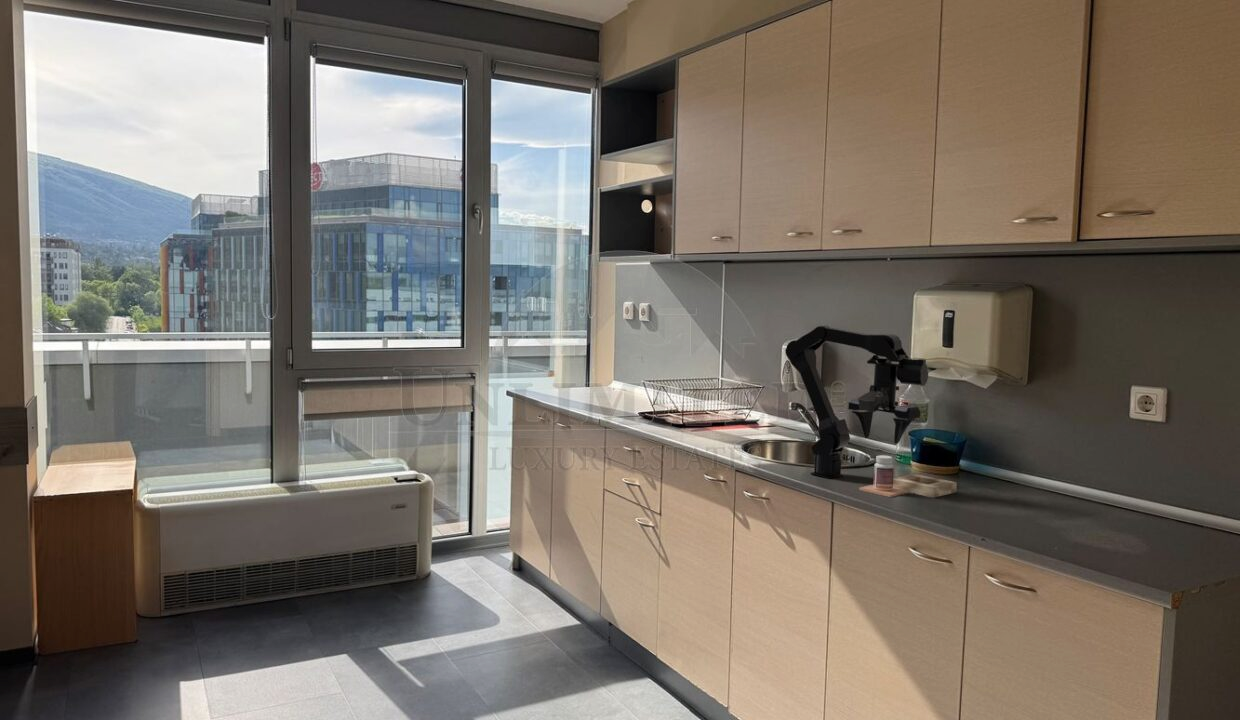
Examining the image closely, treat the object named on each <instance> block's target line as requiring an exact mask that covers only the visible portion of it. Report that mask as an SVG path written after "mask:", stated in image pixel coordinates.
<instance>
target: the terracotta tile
mask: <svg viewBox="0 0 1240 720" xmlns="http://www.w3.org/2000/svg"><path fill="white" fill-rule="evenodd" d="M859 491H861V492H865V493H871V494H875V495H879V496H883V497H888V498H893V497H897V496H901V494H902V495H905V493H906V494H908V493H909V492H908V491H907V490H903V489H898V488H894V487H893V489H892V490H890V491H881V490H876V489H874V484H869V485H865V486H860V487H859Z"/></svg>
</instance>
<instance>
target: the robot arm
mask: <svg viewBox="0 0 1240 720" xmlns="http://www.w3.org/2000/svg"><path fill="white" fill-rule="evenodd" d="M826 342H830V343H834V344H840V345H844V346H846V345H847V346H851V347H856V348H860V349H863V350H865V351H867V352H869V353H871V354H873V355H872V357H871V358H870V359H868V360H867V361H866V363H867V364H869V365H874V372H873V373H874V375H873V384H870V386H869V391H868V392H865V393H864V394H863V395H861V396H859V397H857V398H851V399H850V400H849V401H848V405H847V409H848V410H852V411H851V413H852V414H854V415H856V416H857V418H858V420H859V423H860V424H861V428H862V431H863V432H862V433H863V435H864V436H863V437H864V438H865V439H868V438H869V437H870V433H871V429H872V427H871V426H872V423H873V422H872V421H873V414H874V413H875V412H884V413H890V414H894V416H895V417H894V418H892V420H893V422H894V425H895V427H894V438H893V439H894V444H899V442H900V441H901V440H902V437H903V435H904V433H905V431H906V430H907V428H908V427H909V426H910V424H911V423H912V422H913V421H916V419H918V418H921V410H920V408H919V407H918V406H913V405H909V404H905V405H904V404H903V405H899V401H897V400H896V397H897V396H896V395H897V391H899V390H900V386H899V385H897V382H898V381H899V382H900V384H902V385H910V386H912V385H913V386H920V387H921V386H922V387H924V386H926V384H927V382H928V379H929V371H928V364H927V363H926V362H927V360H926V359H923V358H921V359H916V358H910V357H909V355H908V354H907V352H906V351H905V349H904V348H903V345H902V340H901V339H900V337H899V336H898V335H897V334H892V333H891V334H889V333H888V334H887V333H885V334H883V333H882V334H881V333H880V334H877V333H876V334H873V333H864V332H863V333H862V332H859V331H853V330H852V331H851V330H846V329H841V328H834V327H831V326H829V325H818V326H816V327H815V328H813V329H812V330H811V331H810V332H807V333H806V334H805V335H802V336H801V337H799V338H798V339H796V340H791V341H790V342H788V344H787V345H786V348H785V350H784V351H785V355H786V357H787V359H788V361H789V362H790V364H791V365H792V366H793V368H795V370H796V371H797V372H798V373H799V374H800V377H801V379H802V382H803V384H804V386H805V389H806V392H807V394H808V397H809V400H810V402H811V406H812V407H813V410H814V412H815V415H816V417H817V419H818V430H817V431H818V435H819V440H817V441H816V442H815V443H814V444H813V445H811V451H812V455H814V463H813V464H814V471H811V472H810V475H813V476H818V477H822V478H826V479H833V478H839V477H843V475H844V474H843V473H841V471H842V460H841V454H840V453H842V452H843V450H844V448H845V447H847V446H848V444H849V442H850V440H851V437H850V434H851V430H850V429H849V427H848V425H847V421H846V419H845V418H842V419H840V418H838V417H837V416H836V413H835V412H834V409H833V407H832V404H831V402H830V399H829V397H828V395H827V392H826V388H825V387H824V385H823V381H822V379H821V377H820V375H819V371H818V369H817V354H816V352H817V350H818V349H820V348H821V347H822V346H823V345H824V344H825V343H826Z"/></svg>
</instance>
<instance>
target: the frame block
mask: <svg viewBox="0 0 1240 720" xmlns="http://www.w3.org/2000/svg"><path fill="white" fill-rule="evenodd" d="M893 487H894V488H898V489H903V490H907V491H908V493H910V494H914V493H915V495H920V496H924V497H928V498H938V497H941V496H945V495H950V494H953V493H957V481H951V480H946V479H942V478H936V477H931V476H926V475H921V474H918V473H912V474H907V475H904V476H898V477H893Z"/></svg>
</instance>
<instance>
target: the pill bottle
mask: <svg viewBox="0 0 1240 720" xmlns="http://www.w3.org/2000/svg"><path fill="white" fill-rule="evenodd" d="M893 459H894V458H893V456H889V455H876V458H875V462H876V463H874V466H873V467H874V468H873V469H874V470H873V485H874V489H876V490H881V491H890V490H892V489H893V478H894V470H895V468H894V467H895V466H894V464H893Z"/></svg>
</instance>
